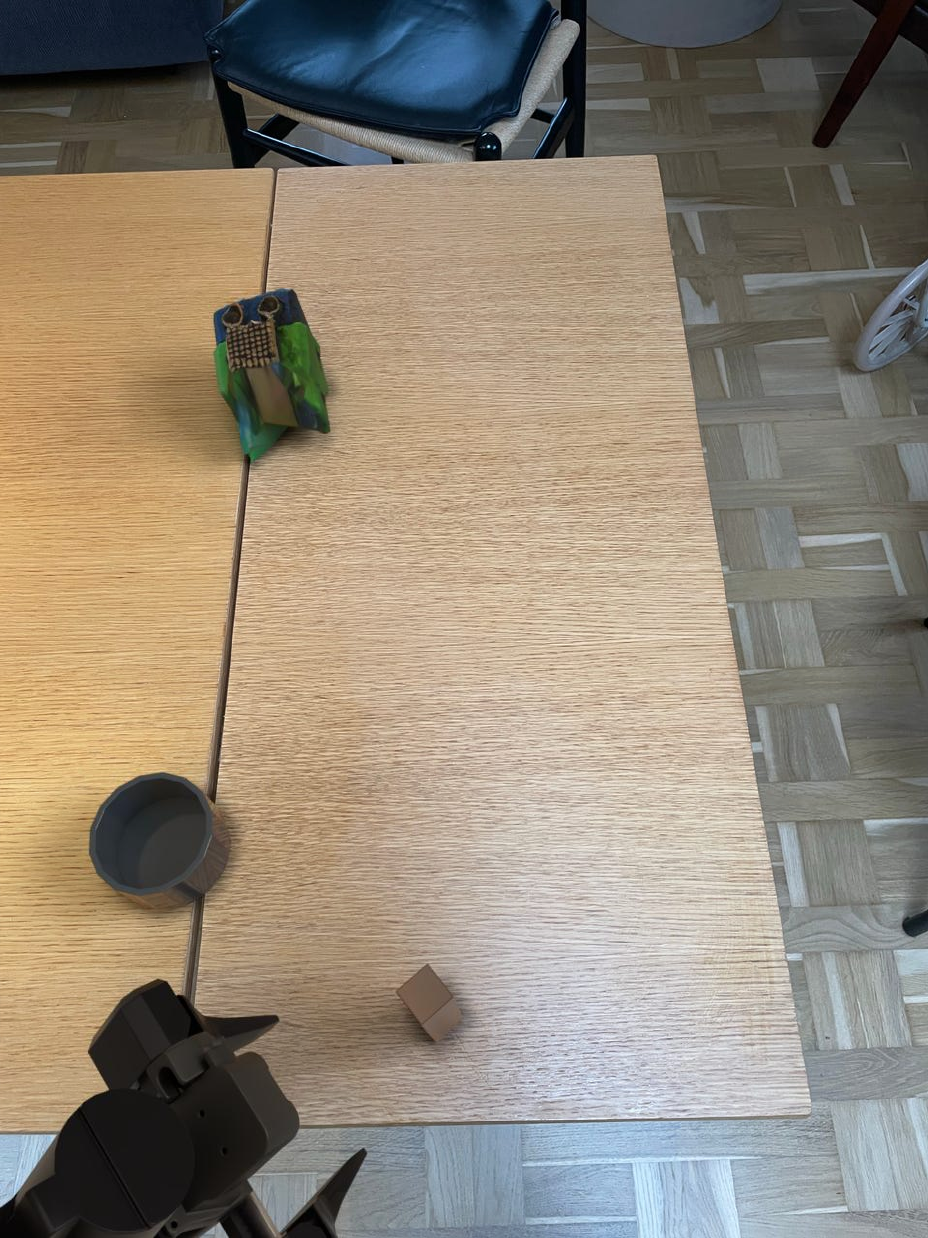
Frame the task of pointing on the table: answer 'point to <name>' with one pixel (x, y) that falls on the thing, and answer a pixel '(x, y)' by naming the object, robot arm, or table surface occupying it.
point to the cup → (159, 841)
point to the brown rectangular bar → (430, 1003)
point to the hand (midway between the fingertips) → (317, 1085)
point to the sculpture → (269, 369)
